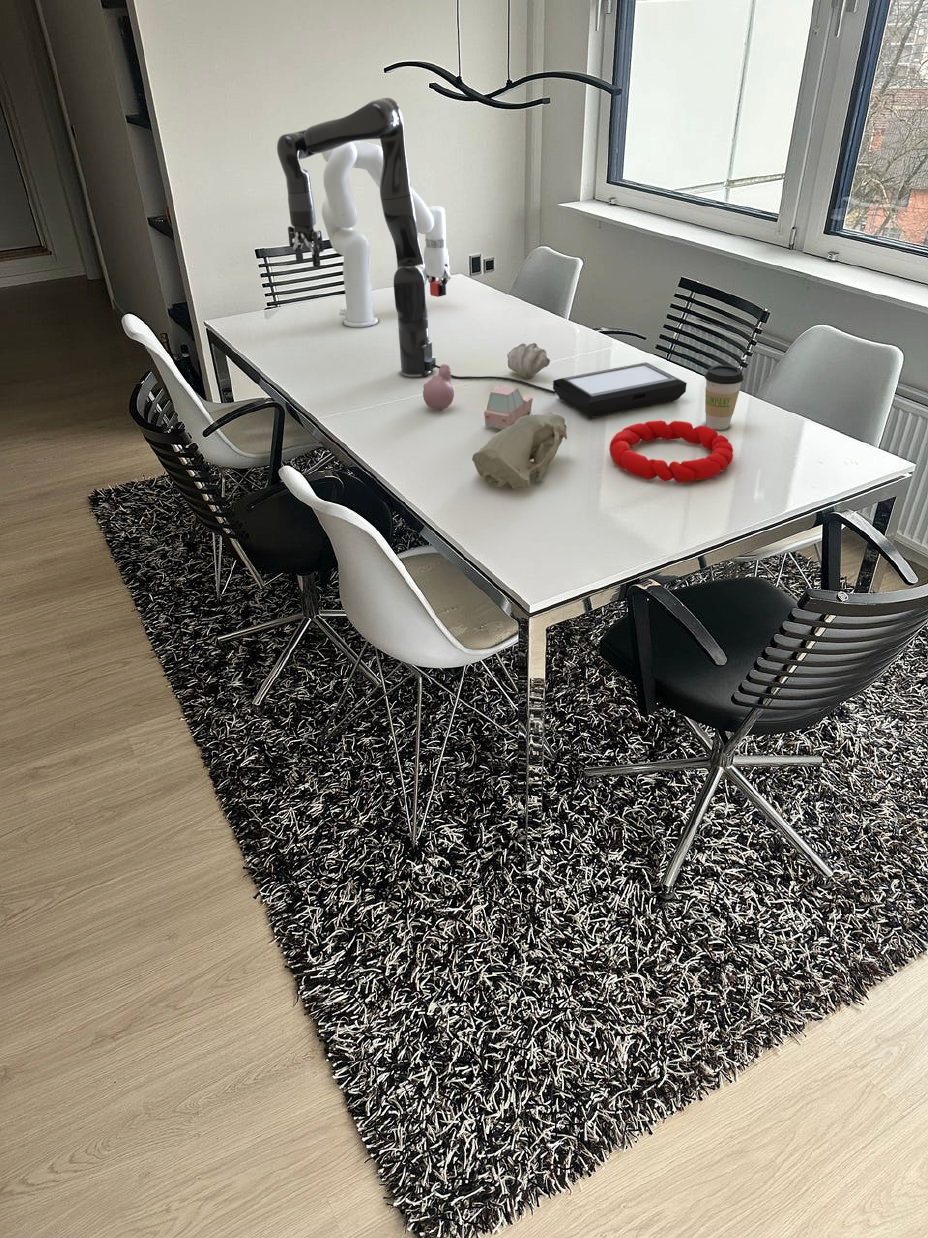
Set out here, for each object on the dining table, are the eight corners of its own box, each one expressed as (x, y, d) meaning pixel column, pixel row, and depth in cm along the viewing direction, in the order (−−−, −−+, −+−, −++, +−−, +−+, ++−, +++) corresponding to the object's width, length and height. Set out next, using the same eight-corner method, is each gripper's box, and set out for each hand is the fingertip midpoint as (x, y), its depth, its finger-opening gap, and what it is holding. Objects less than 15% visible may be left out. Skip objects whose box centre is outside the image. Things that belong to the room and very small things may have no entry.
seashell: (522, 385, 268) (523, 352, 263) (503, 370, 280) (503, 338, 274) (553, 380, 271) (554, 348, 266) (533, 365, 283) (533, 334, 277)
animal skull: (489, 499, 227) (452, 459, 211) (541, 418, 229) (509, 372, 213) (540, 522, 217) (505, 481, 201) (594, 437, 219) (564, 390, 203)
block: (438, 292, 341) (438, 280, 338) (445, 294, 338) (445, 281, 336) (430, 295, 338) (429, 282, 336) (437, 296, 336) (437, 284, 333)
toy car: (536, 415, 249) (537, 380, 243) (510, 434, 238) (510, 398, 232) (507, 409, 253) (507, 375, 247) (480, 428, 242) (479, 393, 236)
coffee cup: (691, 421, 242) (698, 367, 233) (722, 415, 245) (730, 362, 236) (712, 434, 234) (719, 379, 226) (743, 428, 237) (752, 373, 228)
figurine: (441, 398, 262) (440, 358, 255) (460, 410, 254) (458, 368, 247) (414, 404, 258) (412, 363, 251) (432, 416, 250) (430, 374, 243)
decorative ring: (590, 427, 228) (644, 464, 203) (694, 411, 235) (759, 444, 210) (589, 454, 232) (643, 493, 207) (692, 437, 239) (756, 473, 214)
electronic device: (589, 399, 240) (553, 377, 255) (587, 421, 244) (552, 398, 259) (687, 380, 251) (647, 359, 266) (684, 401, 254) (645, 380, 269)
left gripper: (413, 241, 331) (416, 292, 341) (444, 248, 321) (446, 300, 331) (428, 238, 335) (430, 288, 345) (459, 244, 325) (460, 296, 335)
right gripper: (277, 207, 270) (285, 263, 279) (305, 212, 261) (312, 270, 271) (297, 203, 274) (304, 258, 283) (326, 208, 266) (332, 265, 275)
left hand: (438, 293), depth 338 cm, fingers closed on block, 4 cm apart
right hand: (308, 264), depth 277 cm, fingers open, 8 cm apart
